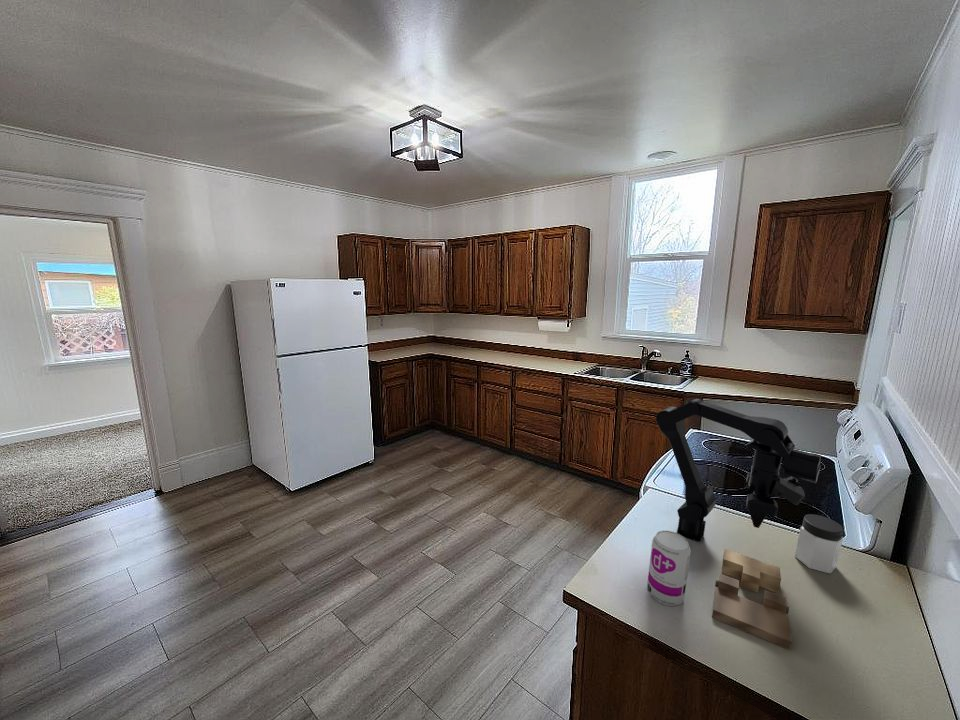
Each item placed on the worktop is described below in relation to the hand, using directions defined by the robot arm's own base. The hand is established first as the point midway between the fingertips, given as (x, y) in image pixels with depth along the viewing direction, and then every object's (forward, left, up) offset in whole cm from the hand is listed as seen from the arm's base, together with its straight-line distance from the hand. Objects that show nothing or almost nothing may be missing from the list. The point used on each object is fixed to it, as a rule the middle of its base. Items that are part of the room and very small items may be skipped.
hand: (756, 520), depth 104 cm
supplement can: (-17, -27, -12) cm, 34 cm away
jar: (+15, +9, -12) cm, 21 cm away
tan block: (0, -9, -12) cm, 15 cm away
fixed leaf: (0, -22, -12) cm, 25 cm away
